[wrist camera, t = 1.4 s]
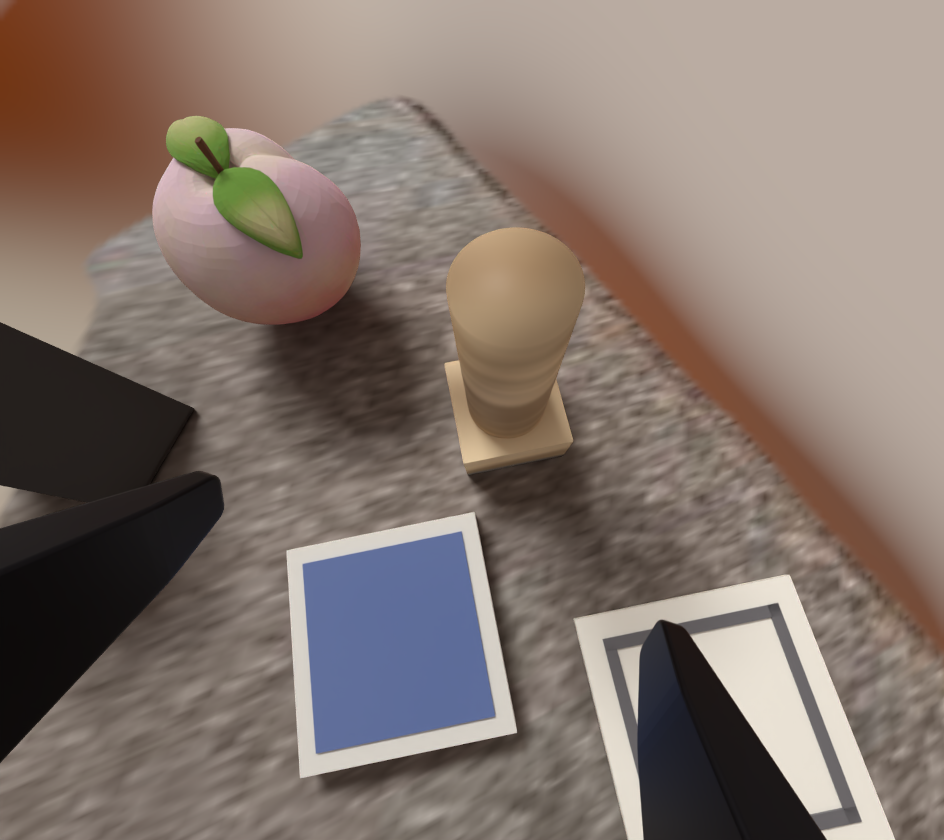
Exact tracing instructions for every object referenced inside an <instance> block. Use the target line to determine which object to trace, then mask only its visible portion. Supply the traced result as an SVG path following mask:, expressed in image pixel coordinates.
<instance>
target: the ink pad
mask: <svg viewBox="0 0 944 840" xmlns="http://www.w3.org/2000/svg"><path fill="white" fill-rule="evenodd" d="M287 568H288V585H289V601H290V618H291V634H292V651H293V668H294V684H295V701H296V718H297V734H298V751H299V767H300V778H303V777H308V776H313V775H317V774H322V773H327V772H332V771H337V770H341V769H346V768H351V767H356V766H361V765H365V764H370V763H375V762H380V761H385V760H389V759H394V758H399V757H404V756H408V755H413V754H418V753H423V752H428V751H432V750H437V749H442V748H447V747H452V746H456V745H461V744H466V743H471V742H475V741H480V740H485V739H490V738H495V737H499V736H504V735H509V734H514V733H517V727H516V720H515V715H514V710H513V705H512V699H511V694H510V689H509V684H508V679H507V674H506V669H505V663H504V658H503V653H502V648H501V643H500V638H499V633H498V627H497V622H496V617H495V612H494V607H493V602H492V597H491V591H490V586H489V581H488V576H487V571H486V566H485V561H484V556H483V550H482V545H481V540H480V535H479V530H478V525H477V520H476V514H475V512H472V513H467V514H462V515H457V516H452V517H448V518H443V519H438V520H433V521H428V522H423V523H418V524H413V525H409V526H404V527H399V528H394V529H389V530H384V531H379V532H374V533H370V534H365V535H360V536H355V537H350V538H345V539H340V540H335V541H331V542H326V543H321V544H316V545H311V546H306V547H301V548H296V549H292V550H287Z"/></svg>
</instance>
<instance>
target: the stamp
mask: <svg viewBox="0 0 944 840" xmlns="http://www.w3.org/2000/svg"><path fill="white" fill-rule="evenodd" d="M446 293H447V300H448V305H449V310H450V316H451V321H452V326H453V331H454V336H455V341H456V347H457V352H458V357H459V360H458V361H453V362H448V363H444V364H445V370H446V375H447V380H448V385H449V390H450V396H451V401H452V406H453V411H454V416H455V421H456V427H457V432H458V437H459V442H460V447H461V453H462V458H463V463H464V466H465V469H466V471H467V474H468V475H471V474H476V473H481V472H486V471H490V470H495V469H500V468H505V467H510V466H515V465H520V464H525V463H530V462H534V461H539V460H544V459H549V458H554V457H559V456H563V455H564V454H565V452H566V451H567V450H568V448H569V447H570V445H571V444H572V443H573V438H572V434H571V431H570V427H569V423H568V420H567V416H566V413H565V409H564V405H563V402H562V398H561V395H560V391H559V387H558V384H557V380H556V377H557V374H558V371H559V369H560V366H561V363H562V360H563V357H564V354H565V352H566V349H567V346H568V343H569V340H570V337H571V334H572V332H573V329H574V326H575V323H576V320H577V317H578V315H579V312H580V309H581V306H582V303H583V299H584V295H585V279H584V274H583V271H582V268H581V266H580V263H579V262H578V260H577V258H576V257H575V255H574V254H573V253H572V252H571V250H570V249H569V248H568V247H567V246H566V245H564V244H563V243H562V242H560V241H559V240H558V239H556V238H554V237H552V236H551V235H548V234H546V233H544V232H541V231H537V230H533V229H528V228H505V229H499V230H495V231H491V232H489V233H486V234H484V235H482V236H480V237H478V238H476V239H475V240H473V241H472V242H470V243H469V244H468V245H466V246H465V247H464V248H463V249H462V250H461V251H460V253H459V254H458V255H457V256H456V258H455V259H454V261H453V263H452V265H451V267H450V270H449V273H448V276H447V282H446Z"/></svg>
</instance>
